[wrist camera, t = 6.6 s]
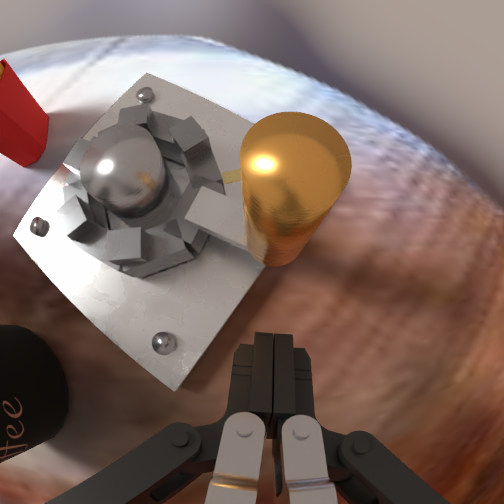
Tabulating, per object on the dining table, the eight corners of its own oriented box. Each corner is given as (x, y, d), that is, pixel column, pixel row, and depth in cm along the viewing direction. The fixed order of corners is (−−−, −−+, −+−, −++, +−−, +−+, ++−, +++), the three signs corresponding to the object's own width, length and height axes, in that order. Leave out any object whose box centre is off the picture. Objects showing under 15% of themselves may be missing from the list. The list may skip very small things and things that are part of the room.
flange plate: (179, 387, 21) (144, 418, 13) (22, 239, 23) (-34, 213, 16) (326, 177, 24) (354, 121, 17) (150, 82, 27) (128, 25, 19)
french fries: (24, 118, 27) (-34, 54, 14) (52, 103, 27) (-4, 31, 14) (16, 182, 25) (-64, 124, 12) (45, 168, 25) (-34, 98, 12)
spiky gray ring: (62, 235, 22) (-57, 167, 9) (129, 121, 24) (68, 6, 11) (257, 338, 20) (266, 372, 7) (321, 194, 22) (386, 66, 9)
